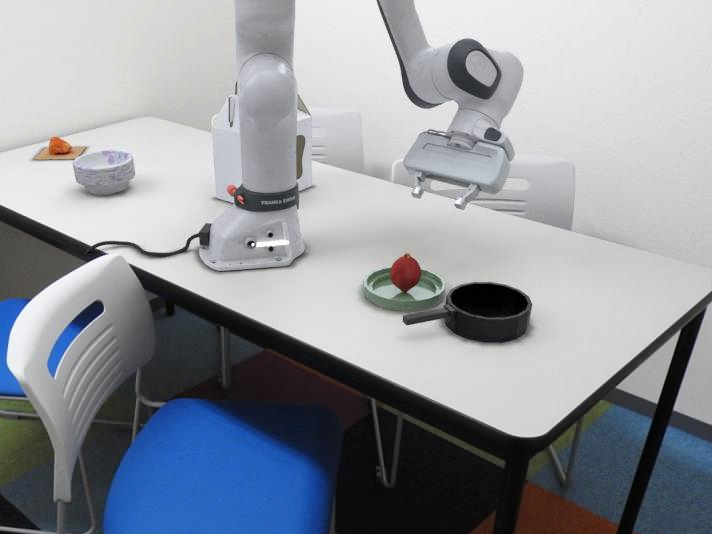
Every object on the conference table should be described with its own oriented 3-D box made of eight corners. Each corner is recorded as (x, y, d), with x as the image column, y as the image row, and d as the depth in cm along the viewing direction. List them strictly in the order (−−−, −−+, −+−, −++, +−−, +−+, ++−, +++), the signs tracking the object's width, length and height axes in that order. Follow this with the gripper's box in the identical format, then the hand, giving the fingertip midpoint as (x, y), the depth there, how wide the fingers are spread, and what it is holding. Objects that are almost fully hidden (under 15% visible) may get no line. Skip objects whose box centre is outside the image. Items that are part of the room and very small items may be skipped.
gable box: (253, 210, 186) (248, 87, 170) (215, 198, 193) (206, 79, 177) (312, 186, 199) (313, 69, 183) (274, 175, 207) (271, 63, 191)
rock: (76, 159, 222) (73, 144, 220) (34, 160, 223) (31, 145, 220) (86, 147, 232) (83, 132, 230) (45, 147, 232) (42, 133, 230)
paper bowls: (65, 195, 197) (59, 164, 193) (98, 177, 209) (94, 147, 204) (116, 202, 192) (112, 170, 188) (147, 183, 204) (144, 152, 199)
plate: (384, 319, 139) (385, 306, 138) (350, 284, 151) (351, 273, 150) (459, 304, 143) (460, 292, 142) (420, 272, 155) (421, 260, 154)
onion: (386, 285, 149) (388, 246, 145) (415, 284, 150) (419, 245, 145) (392, 299, 144) (394, 259, 140) (422, 297, 145) (426, 257, 140)
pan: (498, 298, 145) (501, 276, 143) (544, 333, 134) (548, 310, 131) (385, 320, 139) (386, 297, 136) (423, 359, 128) (425, 335, 125)
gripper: (417, 118, 148) (384, 181, 148) (515, 136, 137) (479, 205, 136) (428, 137, 153) (396, 198, 153) (523, 156, 142) (489, 222, 141)
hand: (436, 202), depth 144 cm, fingers open, 8 cm apart
